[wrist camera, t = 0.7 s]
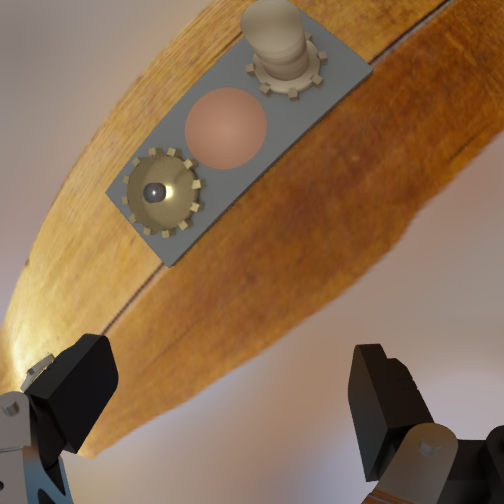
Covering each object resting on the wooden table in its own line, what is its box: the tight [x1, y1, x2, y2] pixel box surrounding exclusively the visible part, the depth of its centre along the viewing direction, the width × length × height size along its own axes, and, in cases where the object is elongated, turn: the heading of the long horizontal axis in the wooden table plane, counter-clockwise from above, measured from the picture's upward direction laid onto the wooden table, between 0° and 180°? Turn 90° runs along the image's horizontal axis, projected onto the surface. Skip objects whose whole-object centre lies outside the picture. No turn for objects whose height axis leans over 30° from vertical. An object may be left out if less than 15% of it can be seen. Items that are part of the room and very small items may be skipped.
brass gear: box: [122, 147, 206, 238], centre depth 32 cm, size 9×9×3 cm
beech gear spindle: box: [240, 0, 327, 102], centre depth 23 cm, size 8×8×10 cm
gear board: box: [105, 8, 374, 268], centre depth 31 cm, size 30×12×2 cm, turn 134°
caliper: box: [20, 354, 54, 391], centre depth 46 cm, size 20×1×6 cm, turn 130°
